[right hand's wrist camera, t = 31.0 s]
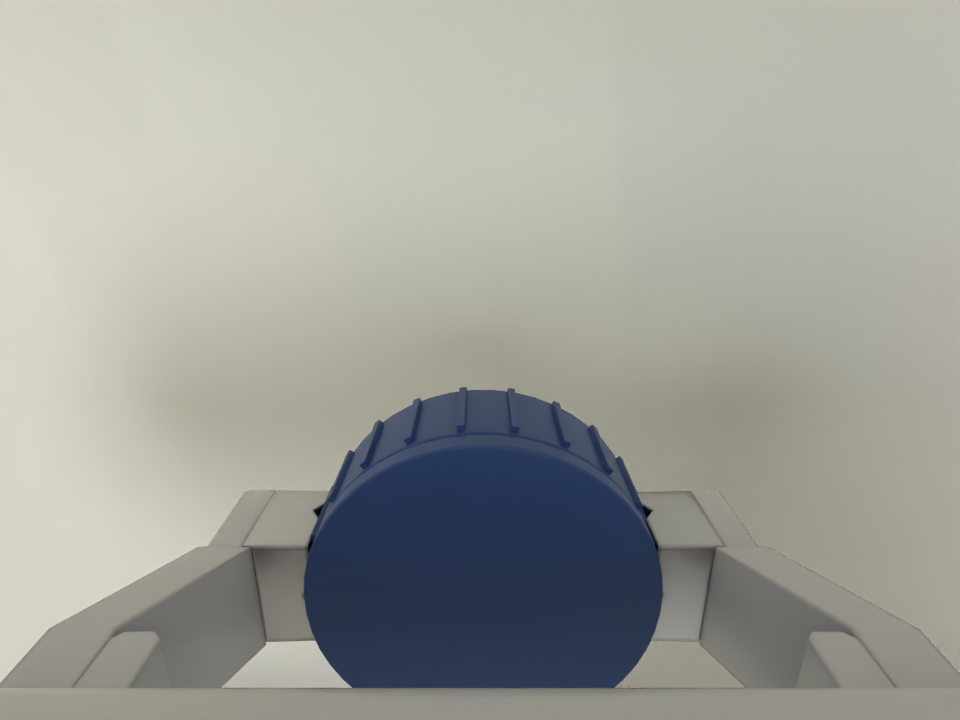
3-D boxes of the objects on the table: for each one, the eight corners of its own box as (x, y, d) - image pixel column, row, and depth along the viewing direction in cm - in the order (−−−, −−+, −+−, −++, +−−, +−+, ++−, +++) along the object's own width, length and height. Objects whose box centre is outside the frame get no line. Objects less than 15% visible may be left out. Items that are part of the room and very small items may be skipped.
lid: (695, 462, 10) (742, 533, 8) (544, 678, 12) (555, 776, 10) (404, 330, 9) (385, 376, 7) (287, 581, 11) (248, 670, 9)
